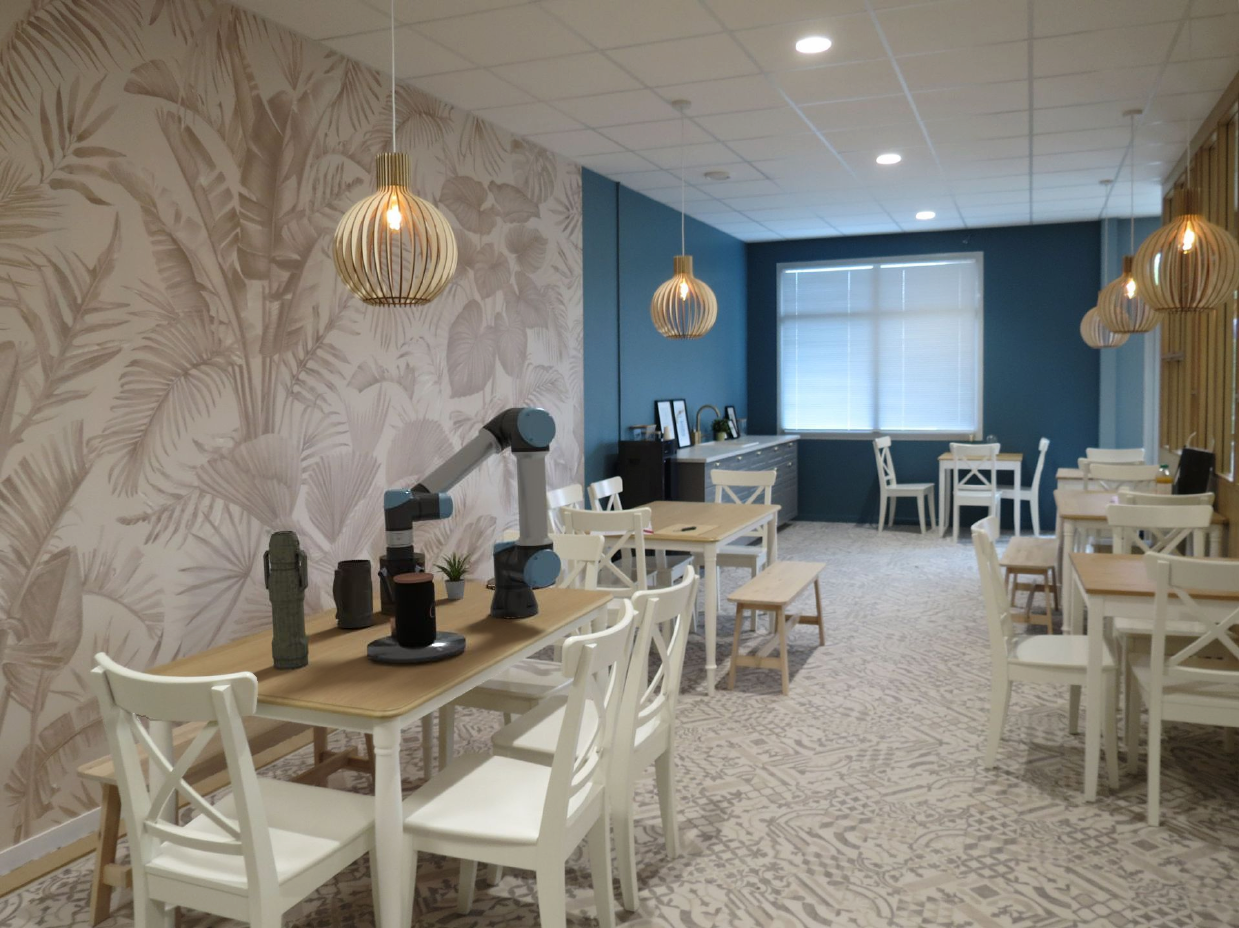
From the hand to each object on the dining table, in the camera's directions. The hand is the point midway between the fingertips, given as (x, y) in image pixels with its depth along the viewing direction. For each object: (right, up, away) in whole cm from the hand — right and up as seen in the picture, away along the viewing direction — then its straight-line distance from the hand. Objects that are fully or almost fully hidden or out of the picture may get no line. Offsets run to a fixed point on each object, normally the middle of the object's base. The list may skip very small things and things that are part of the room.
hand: (404, 628), depth 274 cm
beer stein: (-21, -4, +24) cm, 32 cm away
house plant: (+4, 0, +65) cm, 65 cm away
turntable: (+6, -5, -10) cm, 13 cm away
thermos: (-25, -7, -18) cm, 32 cm away
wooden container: (-10, -2, +46) cm, 47 cm away
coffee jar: (+6, -2, -11) cm, 12 cm away
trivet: (+24, +1, +86) cm, 89 cm away
